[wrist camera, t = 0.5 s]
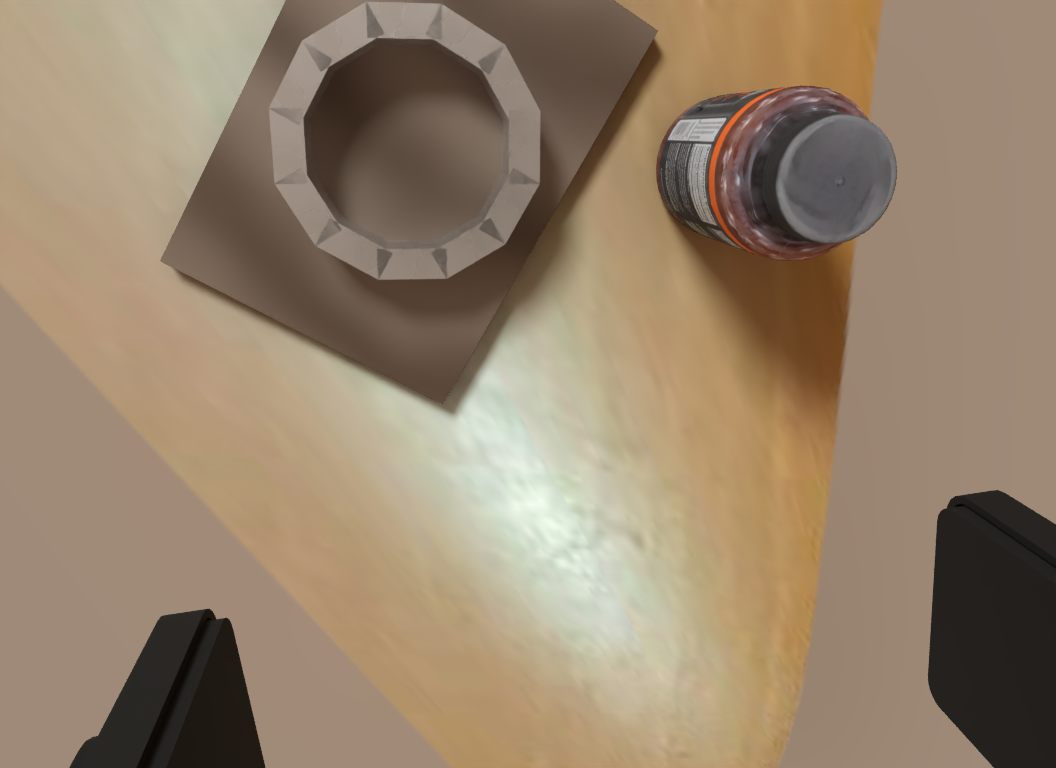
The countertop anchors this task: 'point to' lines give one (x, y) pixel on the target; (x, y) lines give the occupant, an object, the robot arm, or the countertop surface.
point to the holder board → (402, 177)
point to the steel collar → (296, 146)
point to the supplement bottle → (777, 171)
